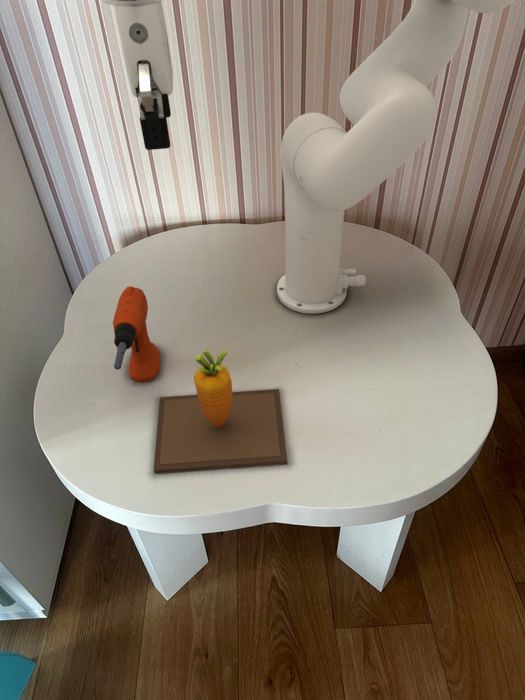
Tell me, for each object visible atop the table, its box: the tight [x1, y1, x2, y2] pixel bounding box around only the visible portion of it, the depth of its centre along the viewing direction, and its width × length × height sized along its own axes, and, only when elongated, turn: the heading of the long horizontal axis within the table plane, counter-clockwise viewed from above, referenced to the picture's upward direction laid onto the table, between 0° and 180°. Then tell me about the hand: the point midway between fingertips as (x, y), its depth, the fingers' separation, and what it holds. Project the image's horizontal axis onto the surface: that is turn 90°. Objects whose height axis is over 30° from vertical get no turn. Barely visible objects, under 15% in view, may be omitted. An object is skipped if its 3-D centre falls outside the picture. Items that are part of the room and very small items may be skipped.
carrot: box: [193, 349, 233, 428], centre depth 75 cm, size 5×5×15 cm
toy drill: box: [112, 285, 161, 383], centre depth 82 cm, size 5×19×15 cm, turn 3°
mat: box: [153, 388, 288, 474], centre depth 81 cm, size 18×13×1 cm
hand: (158, 132), depth 75 cm, fingers open, 9 cm apart
